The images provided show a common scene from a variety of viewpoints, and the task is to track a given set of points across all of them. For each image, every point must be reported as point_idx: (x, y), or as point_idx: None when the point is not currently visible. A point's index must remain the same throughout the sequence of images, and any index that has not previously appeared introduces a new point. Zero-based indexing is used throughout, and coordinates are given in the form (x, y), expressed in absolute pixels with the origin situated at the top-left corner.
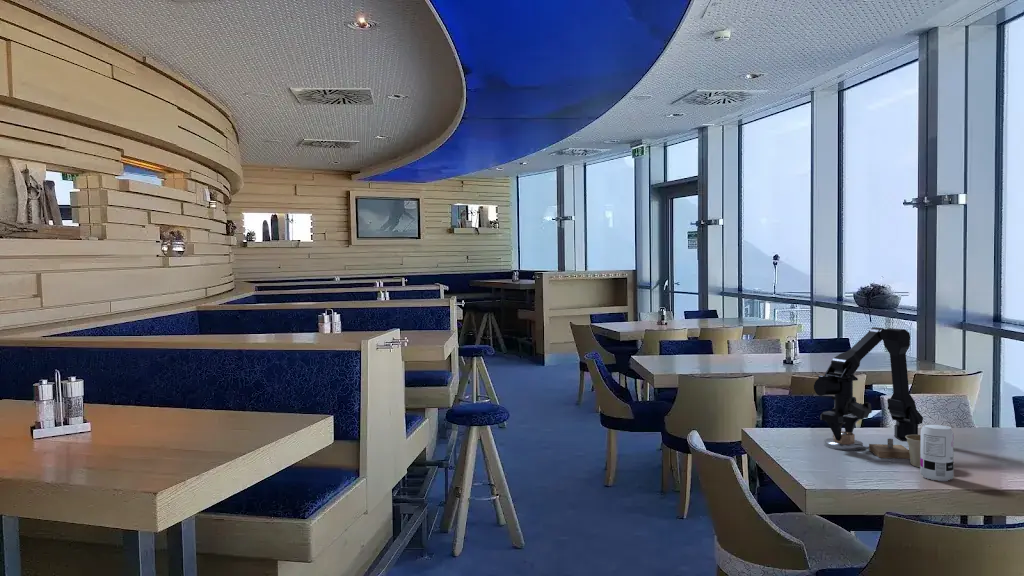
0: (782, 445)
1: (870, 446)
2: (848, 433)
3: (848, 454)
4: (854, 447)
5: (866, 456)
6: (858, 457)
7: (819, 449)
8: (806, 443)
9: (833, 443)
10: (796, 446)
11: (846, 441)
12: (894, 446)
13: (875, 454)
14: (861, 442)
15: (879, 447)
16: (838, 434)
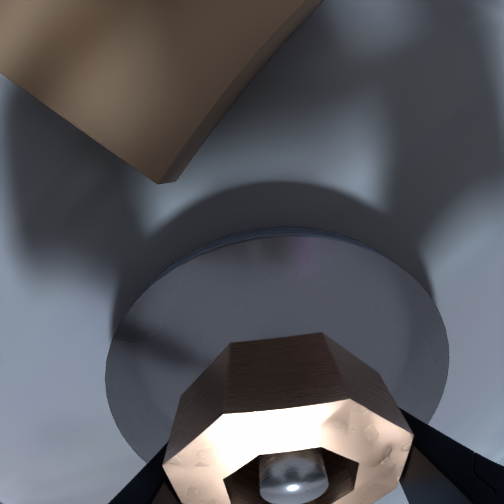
0: (500, 464)
1: (195, 136)
2: (223, 475)
3: (488, 178)
4: (354, 245)
5: (421, 45)
6: (490, 77)
7: (491, 377)
8: (402, 488)
9: (413, 406)
10: (490, 448)
11: (358, 367)
12: (38, 2)
13: (306, 17)
14: (125, 327)
15: (208, 3)
16: (447, 444)
